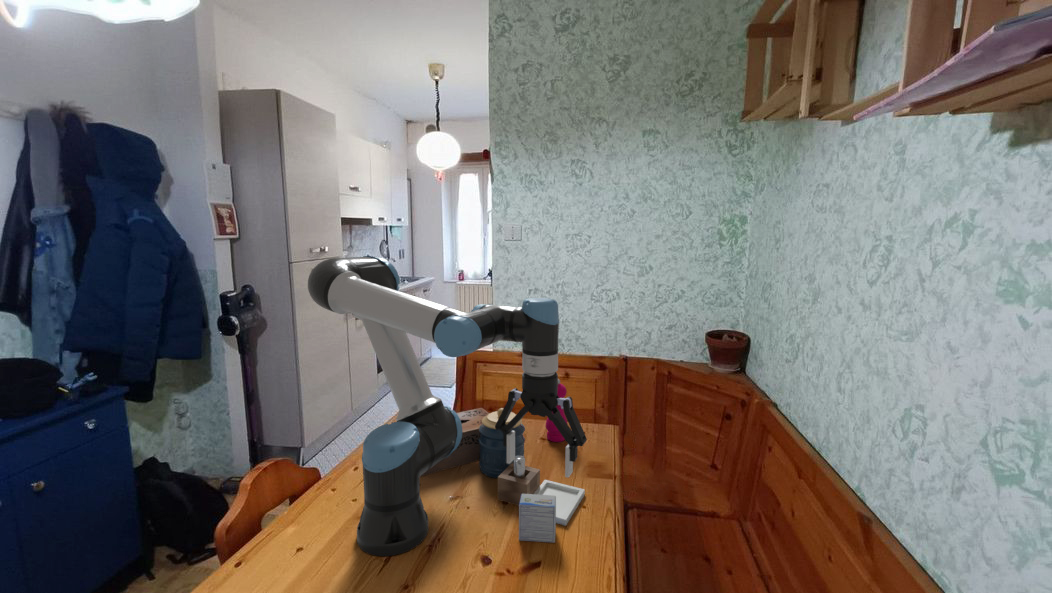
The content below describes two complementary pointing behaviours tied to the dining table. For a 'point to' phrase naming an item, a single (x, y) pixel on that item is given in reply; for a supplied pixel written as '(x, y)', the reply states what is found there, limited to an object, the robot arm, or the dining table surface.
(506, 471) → the square hollow frame
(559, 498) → the tray
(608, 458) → the dining table surface
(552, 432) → the pepper mill
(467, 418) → the tissue box cover
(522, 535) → the medicine box
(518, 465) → the pin
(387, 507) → the robot arm
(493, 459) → the canister
